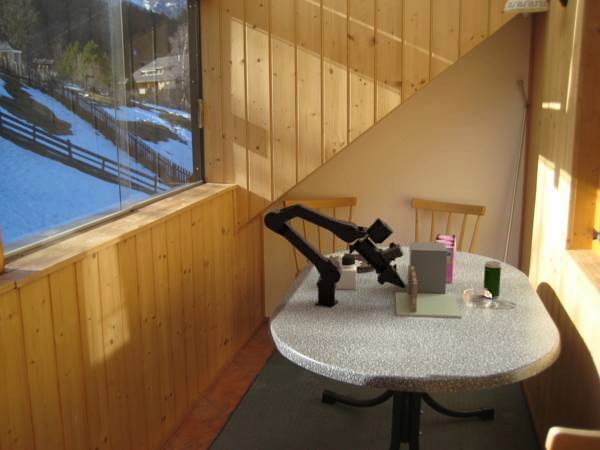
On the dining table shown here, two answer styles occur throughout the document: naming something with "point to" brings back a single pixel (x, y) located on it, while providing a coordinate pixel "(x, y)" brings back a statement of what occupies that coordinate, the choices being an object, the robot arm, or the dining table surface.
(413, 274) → the brown wooden flat panel
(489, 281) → the beer can
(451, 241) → the gum box
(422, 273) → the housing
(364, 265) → the plant saucer
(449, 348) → the dining table surface
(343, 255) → the medicine bottle
